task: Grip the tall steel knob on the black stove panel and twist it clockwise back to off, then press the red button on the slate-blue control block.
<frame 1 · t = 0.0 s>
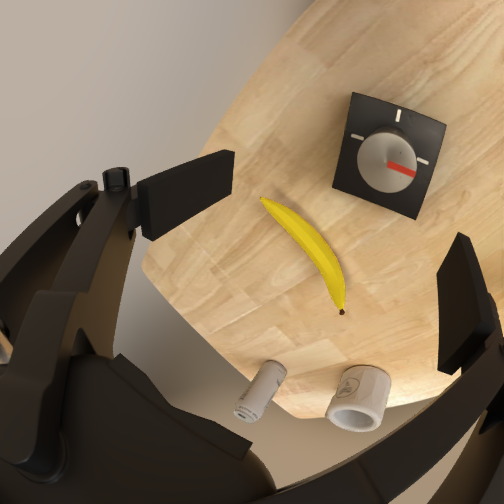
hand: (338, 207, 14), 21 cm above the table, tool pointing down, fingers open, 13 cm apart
mug 2: (361, 380, 49), on the table
stove panel: (389, 153, 28), on the table
energy drink can: (276, 367, 60), on the table
banana: (317, 238, 39), on the table
stove knob: (389, 154, 22), point 7 cm above the table, hinge at 90.0°
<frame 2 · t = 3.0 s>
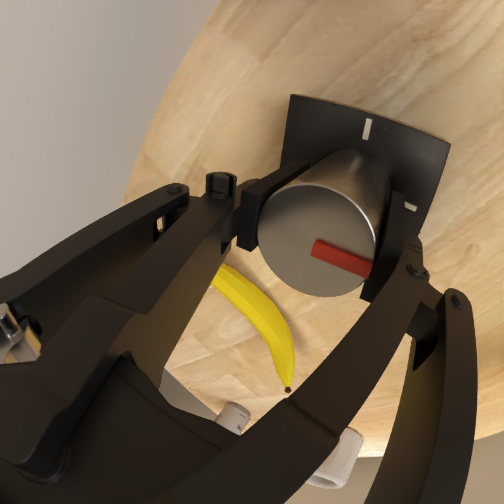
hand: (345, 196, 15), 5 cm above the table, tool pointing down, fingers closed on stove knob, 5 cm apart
mug 2: (330, 434, 40), on the table
stove panel: (355, 187, 19), on the table
energy drink can: (240, 408, 52), on the table
banana: (263, 294, 31), on the table
stove knob: (338, 207, 14), point 7 cm above the table, hinge at 90.0°, touching gripper
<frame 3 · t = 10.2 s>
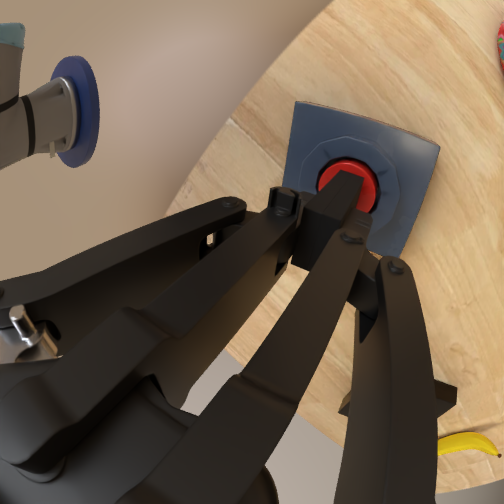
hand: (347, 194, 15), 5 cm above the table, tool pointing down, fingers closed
stove panel: (398, 395, 27), on the table
stop button: (349, 188, 16), point 4 cm above the table, slide at -0.8 cm, touching gripper
banana: (450, 434, 26), on the table
control block: (357, 174, 19), on the table
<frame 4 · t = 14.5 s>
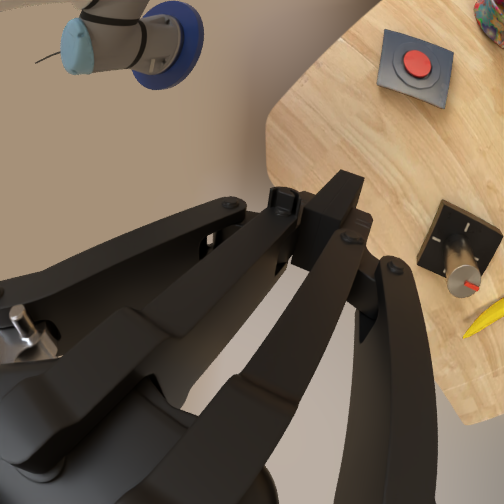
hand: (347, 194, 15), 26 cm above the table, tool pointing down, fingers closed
stove panel: (459, 243, 34), on the table
stop button: (417, 64, 23), point 4 cm above the table, slide at 0.1 cm
banana: (501, 300, 33), on the table
control block: (415, 68, 26), on the table
stove knob: (460, 264, 29), point 7 cm above the table, hinge at 0.9°
mug: (495, 30, 14), on the table
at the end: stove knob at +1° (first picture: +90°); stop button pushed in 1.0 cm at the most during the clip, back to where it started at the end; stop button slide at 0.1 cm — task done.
